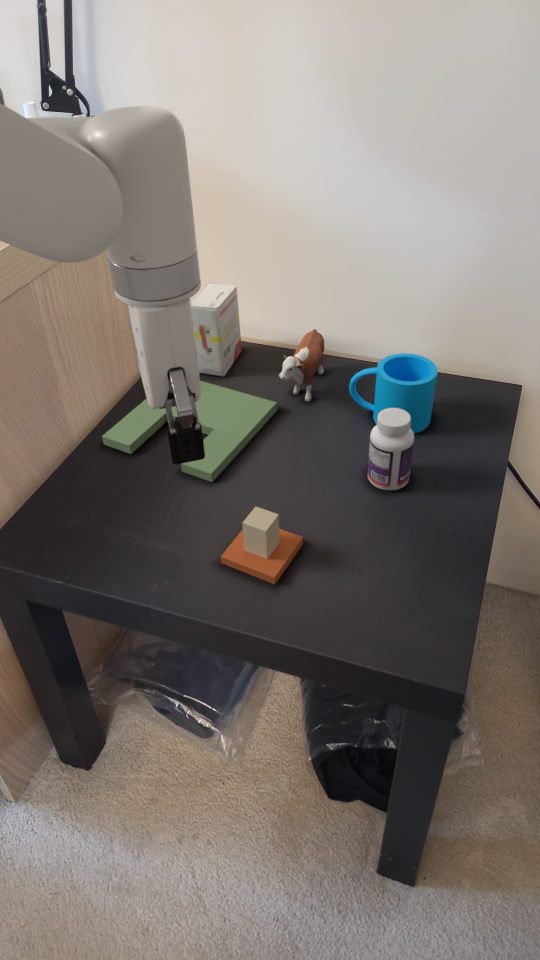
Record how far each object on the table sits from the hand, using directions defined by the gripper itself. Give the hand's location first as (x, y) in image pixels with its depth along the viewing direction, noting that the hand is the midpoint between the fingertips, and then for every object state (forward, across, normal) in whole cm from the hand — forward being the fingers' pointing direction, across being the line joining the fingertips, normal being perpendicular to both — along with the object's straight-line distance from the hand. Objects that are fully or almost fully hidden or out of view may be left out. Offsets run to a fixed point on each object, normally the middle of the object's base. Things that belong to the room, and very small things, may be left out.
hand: (180, 431), depth 70 cm
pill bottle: (+17, -4, +26) cm, 31 cm away
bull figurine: (+17, -28, +22) cm, 39 cm away
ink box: (+17, -39, +11) cm, 44 cm away
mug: (+17, -17, +32) cm, 40 cm away
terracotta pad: (+17, +4, +7) cm, 19 cm away
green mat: (+17, -23, +4) cm, 29 cm away
